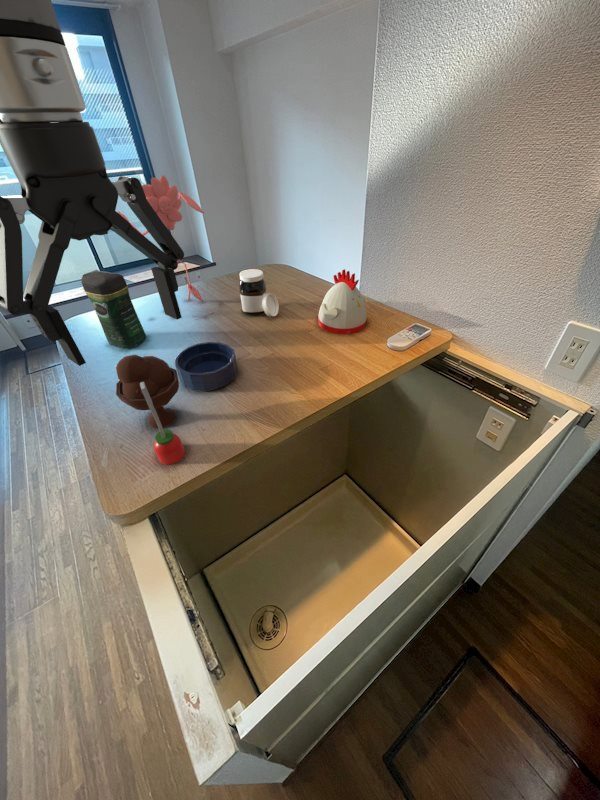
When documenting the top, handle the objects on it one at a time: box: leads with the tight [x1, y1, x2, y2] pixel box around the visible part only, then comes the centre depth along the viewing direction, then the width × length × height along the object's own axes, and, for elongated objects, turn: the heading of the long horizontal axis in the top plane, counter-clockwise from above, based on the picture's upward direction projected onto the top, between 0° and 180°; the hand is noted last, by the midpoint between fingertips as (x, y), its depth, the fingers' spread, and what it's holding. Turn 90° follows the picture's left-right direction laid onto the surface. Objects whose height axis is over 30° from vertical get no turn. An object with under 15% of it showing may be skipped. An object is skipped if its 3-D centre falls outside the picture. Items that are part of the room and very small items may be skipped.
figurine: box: [116, 174, 218, 321], centre depth 91 cm, size 15×26×35 cm, turn 147°
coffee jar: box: [80, 269, 147, 349], centre depth 83 cm, size 10×8×19 cm
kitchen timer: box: [317, 268, 368, 335], centre depth 90 cm, size 14×14×15 cm
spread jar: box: [238, 268, 280, 318], centre depth 97 cm, size 12×11×12 cm
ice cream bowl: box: [115, 354, 180, 429], centre depth 61 cm, size 11×11×15 cm
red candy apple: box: [140, 382, 186, 465], centre depth 54 cm, size 5×5×16 cm
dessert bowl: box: [174, 341, 239, 392], centre depth 75 cm, size 13×13×5 cm
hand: (130, 336), depth 42 cm, fingers open, 13 cm apart
